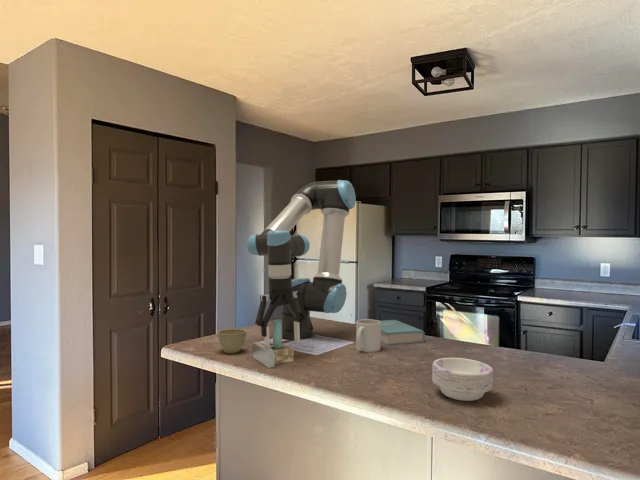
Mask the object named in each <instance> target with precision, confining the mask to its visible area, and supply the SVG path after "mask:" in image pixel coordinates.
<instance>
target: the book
mask: <svg viewBox="0 0 640 480" xmlns="http://www.w3.org/2000/svg"><path fill="white" fill-rule="evenodd" d="M379 321H380V322H381V343H382V344H385V345H387V346H392V345H403V344H416V343H417V344H418V343H424V342H425V339H426V336H425V335H426V333H425V331H424V330H422V329H420V328H417V327H415V326H412V325H410V324H407V323H404V322H402V321H399V320H397V319H393V320H392V319H387V320H386V319H385V320H383V319H382V320H379Z"/></svg>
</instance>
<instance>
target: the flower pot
mask: <svg viewBox="0 0 640 480" xmlns="http://www.w3.org/2000/svg"><path fill="white" fill-rule="evenodd" d="M246 336H247V330H246V329H243V328H227V329H220V330H219V331H217V338H218V341H219V343H220V346H221V348H222V350H223V351H224V353H226V354H236V353H240V351H241V350H242V348H243V346H244V343H245V340H246V338H247V337H246Z"/></svg>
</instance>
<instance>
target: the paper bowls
mask: <svg viewBox="0 0 640 480" xmlns="http://www.w3.org/2000/svg"><path fill="white" fill-rule="evenodd" d="M431 374H432V376H431V377H432V378H431V379H432V380H431V381H432V382H433V384H434V385H435V386H438V387H439V390H440V391H441V393H442V394H443V395H444V396H445V397H448V398H449V399H453V400H456V401H457V400H458V401H462V402H463V401H464V402H468V401H469V402H473V401H478V400H479V399H481V398H482V397H483V396H484V394H485V393H488V392H490V391H491V390H492V389H493V387H494V386H493V384H494V369H493V368H492V366H491V365H489V364H488V363H485V362H482V361H479V360H475V359H470V358H464V357H463V358H462V357H442V358H437V359H435V360H434V361H433V362H432V373H431Z"/></svg>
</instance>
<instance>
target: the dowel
mask: <svg viewBox="0 0 640 480" xmlns="http://www.w3.org/2000/svg"><path fill="white" fill-rule="evenodd" d="M272 321H273V322H272V345H273V350H278V349H282V344H283V338H282V320H280V319H274V320H272Z"/></svg>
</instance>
